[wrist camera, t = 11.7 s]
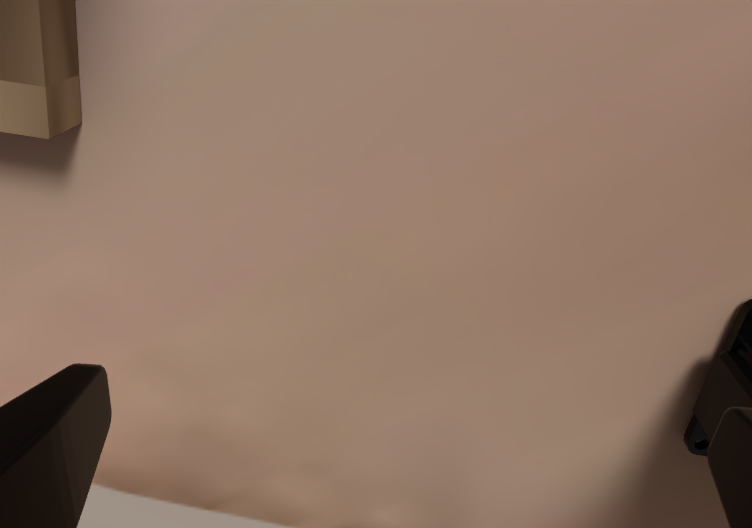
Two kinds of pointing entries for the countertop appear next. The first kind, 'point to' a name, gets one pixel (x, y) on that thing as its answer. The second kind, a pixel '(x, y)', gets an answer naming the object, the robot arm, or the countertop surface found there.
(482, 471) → the countertop surface
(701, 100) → the countertop surface
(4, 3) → the square wooden frame
